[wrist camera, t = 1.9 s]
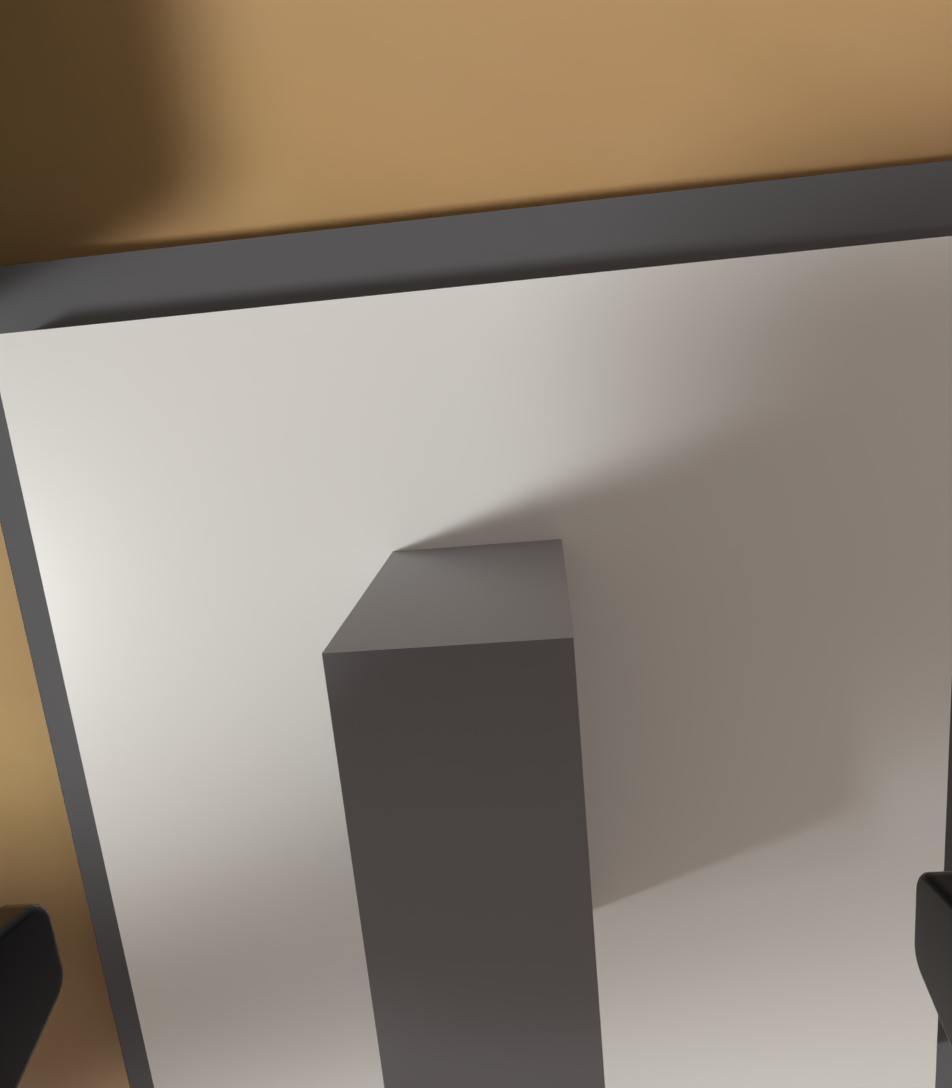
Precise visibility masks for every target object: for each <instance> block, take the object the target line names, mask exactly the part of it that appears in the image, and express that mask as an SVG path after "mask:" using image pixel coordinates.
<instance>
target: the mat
mask: <svg viewBox="0 0 952 1088" xmlns="http://www.w3.org/2000/svg"><path fill="white" fill-rule="evenodd" d="M945 236H952V160H948V161H939V162H930V163H921V164H912V165H903V166H894V167H885V168H876V169H867V170H858V171H849V172H840V173H831V174H822V175H813V176H804V177H795V178H786V179H777V180H768V181H759V182H750V183H741V184H732V185H723V186H714V187H705V188H696V189H687V190H678V191H669V192H660V193H651V194H642V195H633V196H624V197H615V198H606V199H597V200H588V201H579V202H570V203H561V204H552V205H543V206H534V207H525V208H516V209H507V210H498V211H489V212H480V213H471V214H462V215H453V216H444V217H435V218H426V219H417V220H408V221H399V222H390V223H381V224H372V225H363V226H354V227H345V228H336V229H327V230H318V231H309V232H300V233H291V234H282V235H273V236H264V237H255V238H246V239H237V240H228V241H219V242H210V243H201V244H192V245H183V246H174V247H165V248H156V249H147V250H138V251H129V252H120V253H111V254H102V255H93V256H84V257H75V258H67V259H58V260H49V261H40V262H31V263H22V264H13V265H4V266H0V334H5V333H15V332H24V331H34V330H44V329H53V328H63V327H73V326H82V325H92V324H102V323H111V322H121V321H131V320H141V319H150V318H160V317H170V316H179V315H189V314H199V313H208V312H218V311H228V310H238V309H247V308H257V307H267V306H276V305H286V304H296V303H305V302H315V301H325V300H335V299H344V298H354V297H364V296H373V295H383V294H393V293H402V292H412V291H422V290H431V289H441V288H451V287H461V286H470V285H480V284H490V283H499V282H509V281H519V280H528V279H538V278H548V277H558V276H567V275H577V274H587V273H596V272H606V271H616V270H625V269H635V268H645V267H655V266H664V265H674V264H684V263H693V262H703V261H713V260H722V259H732V258H742V257H751V256H761V255H771V254H781V253H790V252H800V251H810V250H819V249H829V248H839V247H848V246H858V245H868V244H878V243H887V242H897V241H907V240H916V239H926V238H936V237H945ZM0 523H1V527H2V532H3V536H4V540H5V545H6V549H7V553H8V558H9V562H10V567H11V571H12V575H13V580H14V584H15V588H16V593H17V597H18V601H19V606H20V610H21V614H22V619H23V623H24V627H25V632H26V636H27V641H28V645H29V649H30V654H31V658H32V662H33V667H34V671H35V675H36V680H37V684H38V688H39V693H40V697H41V702H42V706H43V710H44V715H45V719H46V723H47V728H48V732H49V736H50V741H51V745H52V749H53V754H54V758H55V763H56V767H57V771H58V776H59V780H60V784H61V789H62V793H63V797H64V802H65V806H66V810H67V815H68V819H69V824H70V828H71V832H72V837H73V841H74V845H75V850H76V854H77V858H78V863H79V867H80V871H81V876H82V880H83V884H84V889H85V893H86V898H87V902H88V906H89V911H90V915H91V919H92V924H93V928H94V932H95V937H96V941H97V945H98V950H99V954H100V959H101V963H102V967H103V972H104V976H105V980H106V985H107V989H108V993H109V998H110V1002H111V1006H112V1011H113V1015H114V1020H115V1024H116V1028H117V1033H118V1037H119V1041H120V1046H121V1050H122V1054H123V1059H124V1063H125V1067H126V1072H127V1076H128V1081H129V1085H130V1088H154V1085H153V1080H152V1076H151V1071H150V1067H149V1062H148V1058H147V1053H146V1049H145V1044H144V1040H143V1035H142V1031H141V1026H140V1022H139V1017H138V1013H137V1008H136V1004H135V999H134V994H133V990H132V985H131V981H130V976H129V972H128V967H127V963H126V958H125V954H124V949H123V945H122V940H121V936H120V931H119V927H118V922H117V918H116V913H115V909H114V904H113V900H112V895H111V891H110V886H109V882H108V877H107V873H106V868H105V864H104V859H103V855H102V850H101V846H100V841H99V836H98V832H97V827H96V823H95V818H94V814H93V809H92V805H91V800H90V796H89V791H88V787H87V782H86V778H85V773H84V769H83V764H82V760H81V755H80V751H79V746H78V742H77V737H76V733H75V728H74V724H73V719H72V715H71V710H70V706H69V701H68V697H67V692H66V688H65V683H64V678H63V674H62V669H61V665H60V660H59V656H58V651H57V647H56V642H55V638H54V633H53V629H52V624H51V620H50V615H49V611H48V606H47V602H46V597H45V593H44V588H43V584H42V579H41V575H40V570H39V566H38V561H37V557H36V552H35V548H34V543H33V539H32V534H31V530H30V525H29V520H28V516H27V511H26V507H25V502H24V498H23V493H22V489H21V484H20V480H19V475H18V471H17V466H16V462H15V457H14V453H13V448H12V444H11V439H10V435H9V430H8V426H7V421H6V417H5V412H4V408H3V403H2V399H1V394H0ZM944 871H952V685H951V709H950V734H949V759H948V783H947V808H946V833H945V857H944ZM935 1088H952V1047H951V1045H950V1042H949V1040H948V1037H947V1035H946V1033H945V1030H944V1028H943V1025H942V1023H941V1021H940V1018H939V1016H938V1030H937V1055H936V1079H935Z"/></svg>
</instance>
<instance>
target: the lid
mask: <svg viewBox="0 0 952 1088" xmlns="http://www.w3.org/2000/svg"><path fill="white" fill-rule="evenodd" d="M0 394H1V399H2V403H3V408H4V412H5V417H6V421H7V426H8V430H9V435H10V439H11V444H12V448H13V453H14V457H15V462H16V466H17V471H18V475H19V480H20V484H21V489H22V493H23V498H24V502H25V507H26V511H27V516H28V520H29V525H30V530H31V534H32V539H33V543H34V548H35V552H36V557H37V561H38V566H39V570H40V575H41V579H42V584H43V588H44V593H45V597H46V602H47V606H48V611H49V615H50V620H51V624H52V629H53V633H54V638H55V642H56V647H57V651H58V656H59V660H60V665H61V669H62V674H63V678H64V683H65V688H66V692H67V697H68V701H69V706H70V710H71V715H72V719H73V724H74V728H75V733H76V737H77V742H78V746H79V751H80V755H81V760H82V764H83V769H84V773H85V778H86V782H87V787H88V791H89V796H90V800H91V805H92V809H93V814H94V818H95V823H96V827H97V832H98V836H99V841H100V846H101V850H102V855H103V859H104V864H105V868H106V873H107V877H108V882H109V886H110V891H111V895H112V900H113V904H114V909H115V913H116V918H117V922H118V927H119V931H120V936H121V940H122V945H123V949H124V954H125V958H126V963H127V967H128V972H129V976H130V981H131V985H132V990H133V994H134V999H135V1004H136V1008H137V1013H138V1017H139V1022H140V1026H141V1031H142V1035H143V1040H144V1044H145V1049H146V1053H147V1058H148V1062H149V1067H150V1071H151V1076H152V1080H153V1085H154V1088H935V1079H936V1055H937V1030H938V1014H937V1011H936V1009H935V1006H934V1004H933V1002H932V999H931V997H930V995H929V992H928V990H927V987H926V985H925V983H924V980H923V978H922V975H921V973H920V970H919V967H918V964H917V960H916V955H915V944H914V941H915V910H916V886H917V882H918V879H919V877H920V876H921V875H922V874H923V873H925V872H940V871H944V857H945V833H946V808H947V783H948V759H949V734H950V709H951V685H952V236H945V237H936V238H926V239H916V240H907V241H897V242H887V243H878V244H868V245H858V246H848V247H839V248H829V249H819V250H810V251H800V252H790V253H781V254H771V255H761V256H751V257H742V258H732V259H722V260H713V261H703V262H693V263H684V264H674V265H664V266H655V267H645V268H635V269H625V270H616V271H606V272H596V273H587V274H577V275H567V276H558V277H548V278H538V279H528V280H519V281H509V282H499V283H490V284H480V285H470V286H461V287H451V288H441V289H431V290H422V291H412V292H402V293H393V294H383V295H373V296H364V297H354V298H344V299H335V300H325V301H315V302H305V303H296V304H286V305H276V306H267V307H257V308H247V309H238V310H228V311H218V312H208V313H199V314H189V315H179V316H170V317H160V318H150V319H141V320H131V321H121V322H111V323H102V324H92V325H82V326H73V327H63V328H53V329H44V330H34V331H24V332H15V333H5V334H0Z"/></svg>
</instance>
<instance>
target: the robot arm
mask: <svg viewBox="0 0 952 1088" xmlns="http://www.w3.org/2000/svg"><path fill="white" fill-rule="evenodd" d="M914 944H915V955H916V960H917V964H918V967H919V970H920V973H921V975H922V978H923V980H924V983H925V985H926V987H927V990H928V992H929V995H930V997H931V999H932V1002H933V1004H934V1006H935V1009H936V1011H937V1014H938V1016H939V1018H940V1021H941V1023H942V1025H943V1028H944V1030H945V1033H946V1035H947V1037H948V1040H949V1042H950V1045H951V1047H952V871H940V872H925V873H923V874H922V875H921V876H920V877H919V879H918V882H917V886H916V910H915V941H914ZM62 979H63V970H62V964H61V960H60V956H59V952H58V947H57V943H56V939H55V935H54V931H53V927H52V923H51V918H50V915H49V913H48V911H47V910H46V909H45V908H44V907H43V906H41V905H39V904H27V905H7V906H3V907H0V1088H17V1086H18V1084H19V1082H20V1080H21V1078H22V1075H23V1073H24V1071H25V1069H26V1067H27V1064H28V1062H29V1060H30V1058H31V1055H32V1053H33V1051H34V1049H35V1047H36V1044H37V1042H38V1040H39V1038H40V1036H41V1033H42V1031H43V1029H44V1027H45V1025H46V1022H47V1020H48V1018H49V1016H50V1014H51V1011H52V1009H53V1007H54V1005H55V1002H56V1000H57V998H58V995H59V993H60V989H61V985H62Z"/></svg>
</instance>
